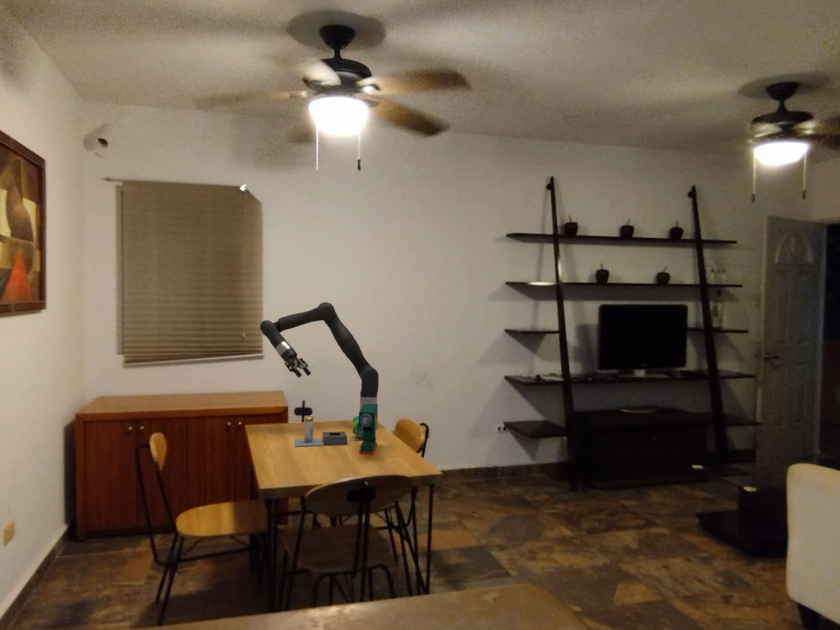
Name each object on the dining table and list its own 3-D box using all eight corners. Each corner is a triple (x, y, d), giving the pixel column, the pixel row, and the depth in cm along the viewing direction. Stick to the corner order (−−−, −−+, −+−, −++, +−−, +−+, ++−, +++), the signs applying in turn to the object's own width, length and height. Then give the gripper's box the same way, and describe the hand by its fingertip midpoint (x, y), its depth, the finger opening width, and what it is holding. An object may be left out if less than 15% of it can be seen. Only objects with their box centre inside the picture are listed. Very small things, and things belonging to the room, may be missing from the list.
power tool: (371, 462, 270) (372, 416, 269) (355, 462, 270) (356, 416, 269) (377, 444, 302) (378, 403, 301) (363, 444, 302) (364, 403, 301)
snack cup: (360, 442, 306) (361, 421, 306) (344, 438, 312) (345, 418, 312) (380, 436, 319) (381, 416, 319) (365, 433, 325) (365, 414, 325)
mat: (321, 439, 309) (321, 438, 309) (323, 446, 297) (323, 444, 297) (294, 440, 306) (294, 439, 306) (295, 446, 294) (295, 445, 294)
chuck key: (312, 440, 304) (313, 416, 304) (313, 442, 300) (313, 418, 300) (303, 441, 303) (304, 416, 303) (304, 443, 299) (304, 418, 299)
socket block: (344, 439, 311) (344, 431, 311) (347, 444, 300) (347, 436, 300) (322, 440, 309) (322, 432, 308) (324, 445, 298) (324, 437, 298)
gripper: (282, 348, 313) (301, 372, 309) (298, 346, 326) (317, 369, 323) (273, 357, 315) (292, 382, 311) (289, 355, 329) (308, 378, 325)
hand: (305, 375), depth 317 cm, fingers open, 8 cm apart
